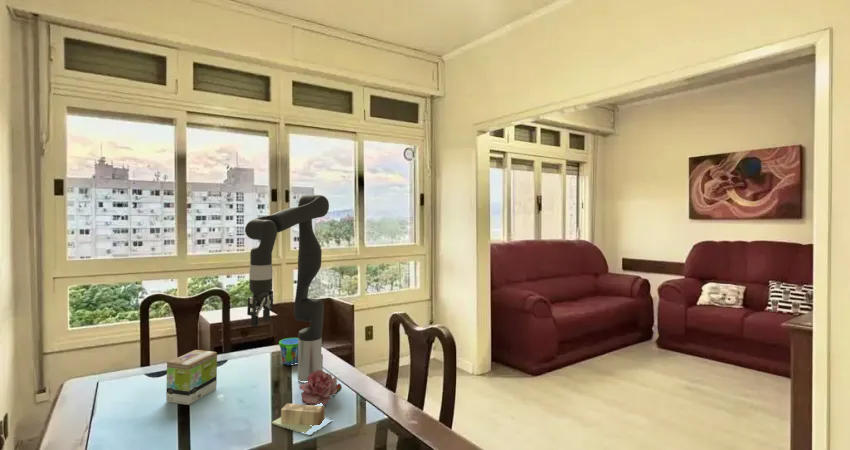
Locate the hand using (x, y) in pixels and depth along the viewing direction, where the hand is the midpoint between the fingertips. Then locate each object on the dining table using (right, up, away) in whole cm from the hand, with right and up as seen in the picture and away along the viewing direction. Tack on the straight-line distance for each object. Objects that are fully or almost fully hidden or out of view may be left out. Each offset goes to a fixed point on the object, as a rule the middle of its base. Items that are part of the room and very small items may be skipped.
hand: (260, 323), depth 159 cm
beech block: (+10, -28, -8) cm, 31 cm away
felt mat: (+17, -31, -8) cm, 36 cm away
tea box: (-29, -29, +10) cm, 42 cm away
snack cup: (-2, -28, +45) cm, 53 cm away
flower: (+18, -30, +9) cm, 37 cm away
